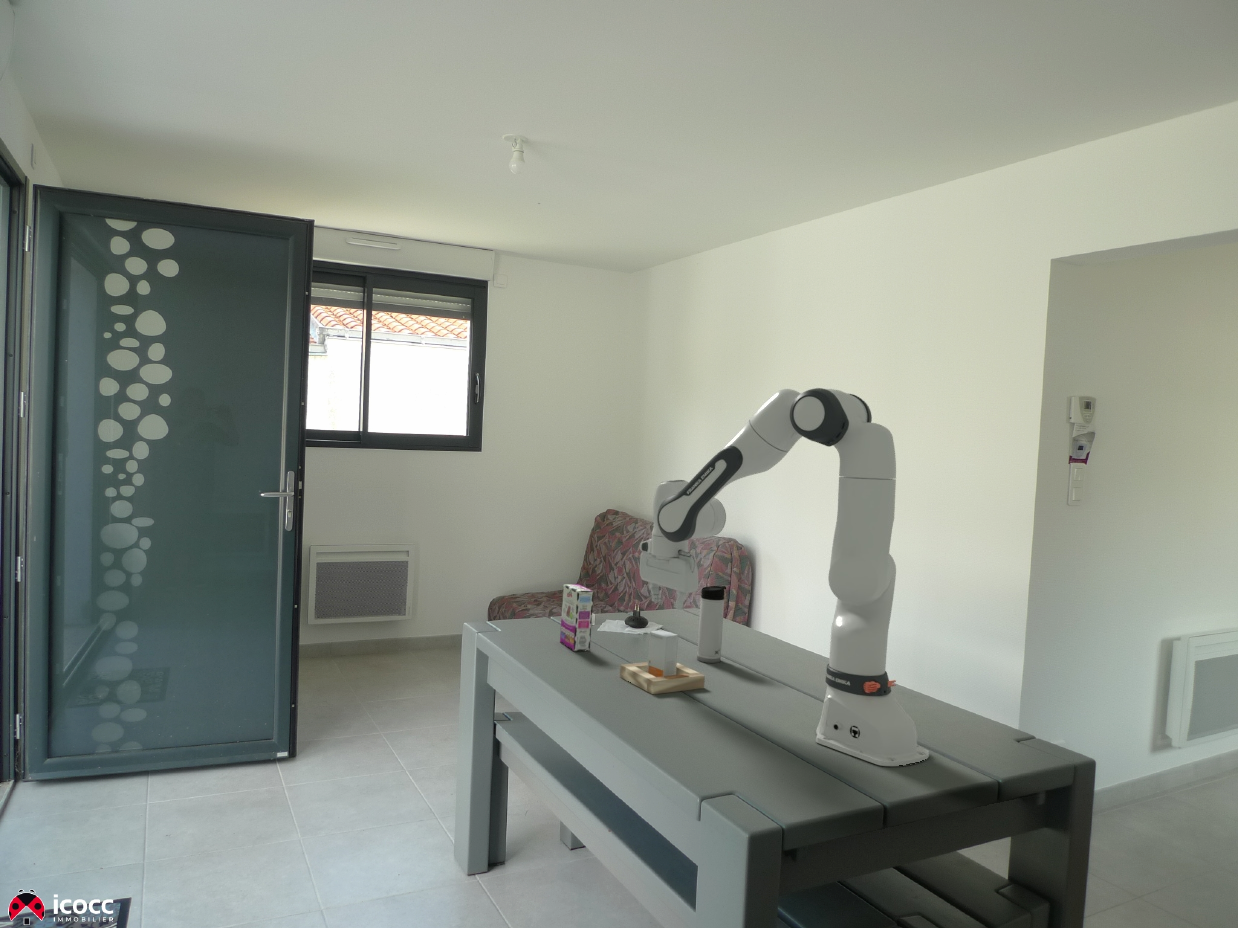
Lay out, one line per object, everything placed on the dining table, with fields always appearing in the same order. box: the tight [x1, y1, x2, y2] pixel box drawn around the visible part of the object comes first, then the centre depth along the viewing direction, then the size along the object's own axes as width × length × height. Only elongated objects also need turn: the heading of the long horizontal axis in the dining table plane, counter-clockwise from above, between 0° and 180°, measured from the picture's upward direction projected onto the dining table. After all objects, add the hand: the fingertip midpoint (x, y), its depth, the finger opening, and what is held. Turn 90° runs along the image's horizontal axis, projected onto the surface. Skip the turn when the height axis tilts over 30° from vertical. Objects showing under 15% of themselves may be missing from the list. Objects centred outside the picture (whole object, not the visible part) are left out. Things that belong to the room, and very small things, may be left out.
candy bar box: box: [559, 583, 595, 652], centre depth 234 cm, size 11×5×16 cm, turn 25°
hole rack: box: [619, 661, 706, 695], centre depth 205 cm, size 15×15×3 cm
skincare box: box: [647, 629, 679, 677], centre depth 205 cm, size 6×4×12 cm
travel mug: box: [696, 585, 727, 664], centre depth 228 cm, size 6×7×20 cm
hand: (667, 605), depth 204 cm, fingers open, 8 cm apart
